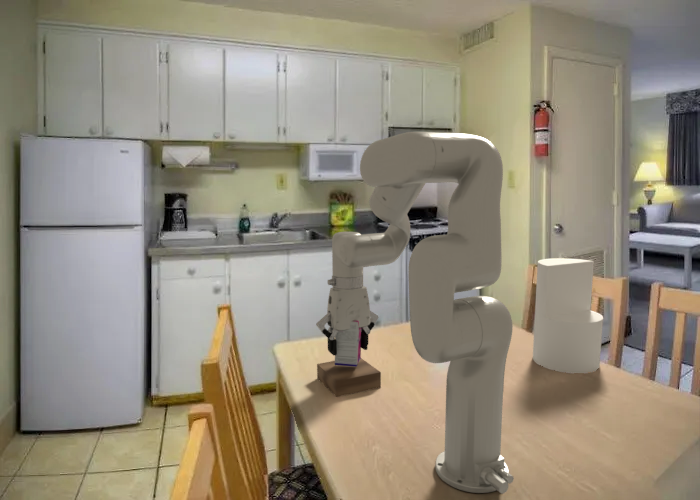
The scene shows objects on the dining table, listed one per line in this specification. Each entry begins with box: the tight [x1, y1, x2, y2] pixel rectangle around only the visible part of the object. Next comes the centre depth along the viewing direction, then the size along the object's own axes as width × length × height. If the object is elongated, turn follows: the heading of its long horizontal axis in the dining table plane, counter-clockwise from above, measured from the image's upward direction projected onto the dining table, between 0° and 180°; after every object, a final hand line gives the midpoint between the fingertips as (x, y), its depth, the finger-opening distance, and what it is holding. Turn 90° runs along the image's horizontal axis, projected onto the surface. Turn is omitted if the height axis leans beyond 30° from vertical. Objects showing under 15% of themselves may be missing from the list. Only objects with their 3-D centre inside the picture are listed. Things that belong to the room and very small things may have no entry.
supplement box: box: [334, 321, 362, 367], centre depth 124 cm, size 6×6×12 cm
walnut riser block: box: [316, 357, 382, 398], centre depth 125 cm, size 12×12×4 cm
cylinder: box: [532, 257, 604, 374], centre depth 137 cm, size 17×17×28 cm
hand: (348, 350), depth 124 cm, fingers closed on supplement box, 7 cm apart
